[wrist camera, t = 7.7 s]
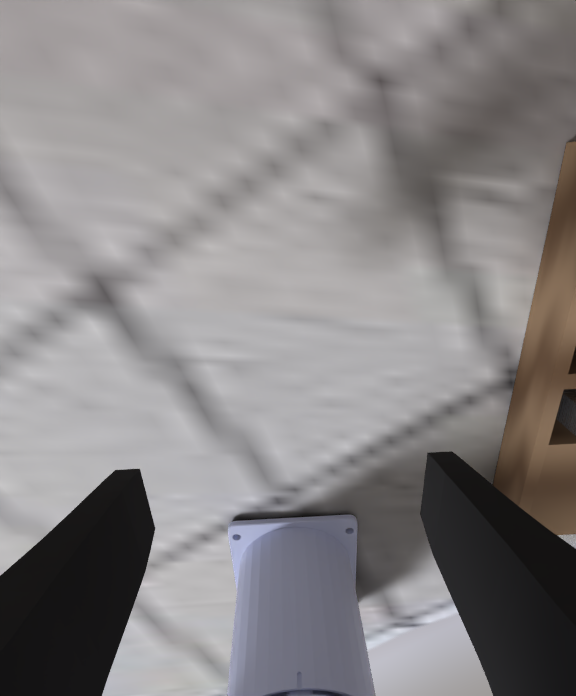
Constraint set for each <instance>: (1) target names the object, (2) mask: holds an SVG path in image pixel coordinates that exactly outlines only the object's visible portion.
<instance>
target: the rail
mask: <svg viewBox="0 0 576 696" xmlns="http://www.w3.org/2000/svg"><path fill="white" fill-rule="evenodd" d="M575 347H576V142H567V143H566V148H565V152H564V157H563V162H562V166H561V171H560V176H559V180H558V185H557V190H556V194H555V199H554V203H553V208H552V213H551V217H550V222H549V227H548V231H547V236H546V241H545V245H544V250H543V254H542V259H541V264H540V268H539V273H538V278H537V282H536V287H535V292H534V296H533V301H532V305H531V310H530V315H529V319H528V324H527V329H526V333H525V338H524V343H523V347H522V352H521V356H520V361H519V366H518V370H517V375H516V380H515V384H514V389H513V394H512V398H511V403H510V407H509V412H508V417H507V421H506V426H505V431H504V435H503V440H502V445H501V449H500V454H499V458H498V463H497V468H496V472H495V477H494V482H493V486H494V487H496V488H497V489H498V490H499V491H500V492H502V493H503V494H504V495H505V496H507V497H508V498H509V499H510V500H512V501H513V502H514V503H515V504H517V505H518V506H519V507H520V508H522V509H523V510H524V511H525V512H527V513H528V514H529V515H530V516H532V517H533V518H534V519H536V520H537V521H538V522H540V523H541V524H542V525H544V526H545V527H546V528H547V529H549V530H550V531H551V532H553V533H554V534H556V535H567V534H576V436H575V435H574V434H573V433H572V432H571V431H569V430H568V429H567V428H566V427H565V426H564V425H563V424H561V423H560V422H559V421H558V420H557V419H556V416H557V412H558V409H559V405H560V401H561V398H562V394H563V391H564V389H576V349H575Z"/></svg>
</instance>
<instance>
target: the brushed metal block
mask: <svg viewBox="0 0 576 696" xmlns="http://www.w3.org/2000/svg"><path fill="white" fill-rule="evenodd" d="M575 348H576V347H575ZM556 419H557V420H558V421H559V422H560V423H561V424H563V425H564V426H565V427H566V428H567V429H568V430H569V431H571V432H572V433H573V434H574V435H575V436H576V389H564V391H563V394H562V398H561V401H560V405H559V409H558V412H557V416H556Z"/></svg>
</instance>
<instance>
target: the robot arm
mask: <svg viewBox="0 0 576 696" xmlns="http://www.w3.org/2000/svg"><path fill="white" fill-rule="evenodd" d="M420 514H421V518H422V521H423V524H424V528H425V531H426V534H427V537H428V541H429V544H430V547H431V550H432V553H433V556H434V558H435V560H436V563H437V565H438V567H439V570H440V572H441V574H442V576H443V579H444V581H445V583H446V585H447V588H448V590H449V592H450V594H451V597H452V599H453V601H454V603H455V606H456V608H457V610H458V612H459V615H460V617H461V619H462V621H463V623H464V626H465V628H466V630H467V633H468V635H469V637H470V639H471V641H472V644H473V646H474V648H475V651H476V653H477V655H478V657H479V660H480V662H481V665H482V667H483V670H484V672H485V675H486V677H487V680H488V682H489V685H490V688H491V691H492V693H493V696H576V549H575V548H574V547H572V546H571V545H569V544H568V543H567V542H565V541H564V540H562V539H561V538H560V537H558V536H557V535H556V534H554V533H553V532H551V531H550V530H549V529H547V528H546V527H545V526H544V525H542V524H541V523H540V522H538V521H537V520H536V519H534V518H533V517H532V516H530V515H529V514H528V513H527V512H525V511H524V510H523V509H522V508H520V507H519V506H518V505H517V504H515V503H514V502H513V501H512V500H510V499H509V498H508V497H507V496H505V495H504V494H503V493H502V492H500V491H499V490H498V489H497V488H496V487H494V486H493V485H492V484H491V483H490V482H488V481H487V480H486V479H485V478H484V477H482V476H481V475H480V474H479V473H478V472H476V471H475V470H474V469H473V468H472V467H470V466H469V465H468V464H467V463H466V462H464V461H463V460H462V459H461V458H460V457H458V456H457V455H456V454H455V453H453V452H435V453H428V455H427V463H426V471H425V479H424V488H423V496H422V504H421V512H420ZM357 526H358V524H357V519H356V517H355V516H353V515H332V516H314V517H296V518H278V519H260V520H242V521H233V522H231V523H230V524H229V526H228V536H229V543H230V549H231V556H232V562H233V569H234V575H235V582H236V588H237V598H236V608H235V618H234V629H233V639H232V650H231V660H230V670H229V681H228V691H227V696H376V695H375V690H374V685H373V679H372V674H371V669H370V664H369V658H368V653H367V648H366V642H365V637H364V632H363V627H362V621H361V616H360V611H359V605H358V600H357V595H356V590H355V585H356V555H357ZM347 528H350V529H347ZM154 531H155V526H154V522H153V518H152V515H151V511H150V507H149V503H148V499H147V495H146V491H145V487H144V484H143V480H142V476H141V472H140V469H128V470H115V471H114V472H113V473H112V474H111V475H110V476H108V477H107V478H106V479H105V480H104V481H103V482H102V483H101V484H100V485H99V486H98V487H97V488H96V489H95V490H94V491H93V492H92V493H91V494H89V495H88V496H87V497H86V498H85V499H84V500H83V501H82V502H81V503H80V504H79V505H78V506H77V507H76V508H75V509H74V510H73V511H72V512H71V513H70V514H69V515H68V516H66V517H65V518H64V519H63V520H62V521H61V522H60V523H59V524H58V525H57V526H56V527H55V528H54V529H53V530H52V531H50V532H49V533H48V534H47V535H46V536H45V537H44V538H43V539H42V540H41V541H40V542H39V543H37V544H36V545H35V546H34V547H33V548H32V549H31V550H29V551H28V552H27V553H26V554H25V555H24V556H23V557H21V558H20V559H19V560H18V561H17V562H16V563H15V564H13V565H12V566H11V567H10V568H9V569H8V570H7V571H5V572H4V573H3V574H2V575H1V576H0V696H102V693H103V690H104V687H105V684H106V681H107V678H108V675H109V672H110V669H111V667H112V664H113V661H114V658H115V655H116V653H117V650H118V647H119V644H120V641H121V639H122V636H123V633H124V630H125V627H126V625H127V622H128V619H129V616H130V614H131V611H132V608H133V605H134V602H135V599H136V597H137V594H138V591H139V588H140V585H141V582H142V579H143V576H144V573H145V570H146V566H147V562H148V558H149V554H150V550H151V545H152V541H153V536H154ZM235 534H238V535H235Z"/></svg>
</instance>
